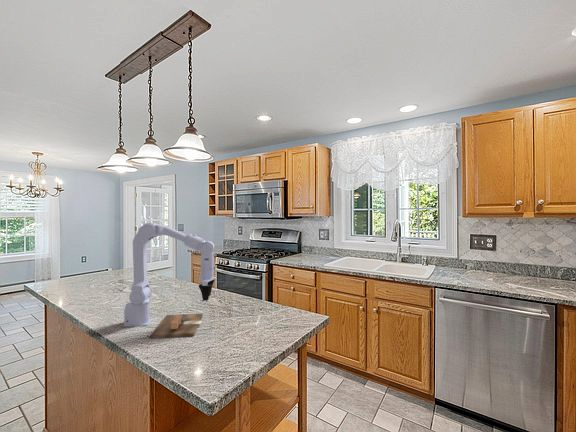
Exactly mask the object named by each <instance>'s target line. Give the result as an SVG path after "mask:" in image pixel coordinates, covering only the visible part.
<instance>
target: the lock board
mask: <svg viewBox="0 0 576 432" xmlns="http://www.w3.org/2000/svg"><path fill="white" fill-rule="evenodd" d="M176 315H177V314H166V315H165V316H164V318H163V319H162V320H161V321H160V322H159V324H158V325H157V326H156V328H155V329H154V330H153V331H152V332H151V333H150V339H156V338H157V339H159V338H177V337H178V338H179V337H180V338H181V337H195V334H196V333H197V330H198V328H199V325H201V323H202V318H203V313H189V314H188V313H185V314H184V313H183V314H178V315H182V316H185V317H186V321H184V322H181V323H180V325H179V327H178V328H177V329H171V322H172V321H173V317H175V316H176Z"/></svg>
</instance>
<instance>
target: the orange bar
mask: <svg viewBox="0 0 576 432" xmlns="http://www.w3.org/2000/svg"><path fill="white" fill-rule="evenodd" d="M175 315H176V316H175V317H173V321H172V322H171V329H177V328H178V327H179V325H180V323H181V322H184V321H186V317H185V316H182V315H179V314H175Z"/></svg>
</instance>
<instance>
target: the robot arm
mask: <svg viewBox="0 0 576 432" xmlns="http://www.w3.org/2000/svg"><path fill="white" fill-rule="evenodd" d="M158 236H167V237H170V238H173V239H175V240H178V241H180V242H183V243H184V244H183V245H184V246H185V247H188V248H189V249H192V250H195V251H198V252H199V251H200V253H201V254H200V277H199V281H201V282H202V283H200V284H199V283H198V288H199V289H200V293H201V298H202V301H203V302H205V301H207V302H208V301H209V298H210V296H211V295H212V291H213V290H212V288H213V286H214V283H215V280H216V279H217V277H216V276H214V274H215V271H214V269H215V258H214V255H215V253H214V251H215V247H216V246H215V244H214V242H212V241H211V240H207V238H202V237H199V236H197V234H196V233H193V234H192V233H189V234H185V233H183V232H181V231H178V230H176V229H174V228H172V227H170V226H169V225H164V224H160V223H159V222H147V223H144V224H143V225H141V226H140V227H139V228H138V230H137V233H136V234H135V236H134V237H133V239H132V260H133V262H132V263H133V283H132V286H131V287H130V289H131V290H130V291H131V292H130V293H129V298H128V299H129V302H128V303H126V304H125V307H124V312H123V313H124V314H123V315H124V317H123V318H124V319H123V326H122V327H124V328H125V327H143V326H144V327H146V326H149V324H150V323H151V322H152V320H153V319H154V318H153V317H150V316H151V314H150V313H151V300H150V297H151V296H152V292H153V289H152V287H151V286H150V281H149V280H148V263H147V262H148V261H147V258H148V257H147V244H148V243H149V242H150V241H152V240H153V239H154V238H156V237H158Z"/></svg>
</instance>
